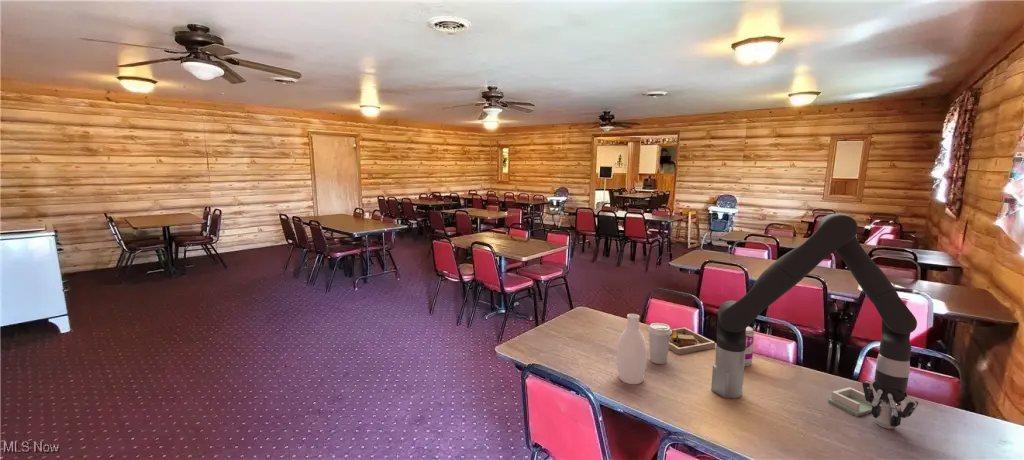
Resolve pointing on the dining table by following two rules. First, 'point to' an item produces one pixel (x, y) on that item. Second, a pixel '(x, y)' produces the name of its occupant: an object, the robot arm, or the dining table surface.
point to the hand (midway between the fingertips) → (885, 421)
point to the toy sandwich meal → (683, 339)
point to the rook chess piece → (885, 416)
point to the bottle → (632, 352)
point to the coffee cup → (659, 342)
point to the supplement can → (749, 346)
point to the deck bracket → (851, 401)
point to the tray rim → (693, 348)
